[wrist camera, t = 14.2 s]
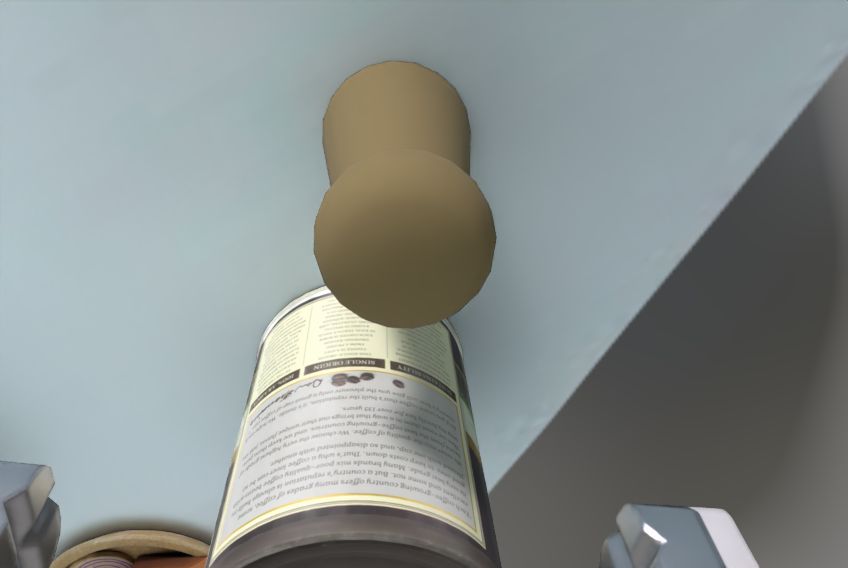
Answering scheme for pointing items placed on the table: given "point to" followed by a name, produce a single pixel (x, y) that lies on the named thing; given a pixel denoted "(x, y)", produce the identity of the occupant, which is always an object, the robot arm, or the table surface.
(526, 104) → the table surface
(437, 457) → the coffee can
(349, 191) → the cork
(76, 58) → the table surface
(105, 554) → the toy sandwich meal
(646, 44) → the table surface
